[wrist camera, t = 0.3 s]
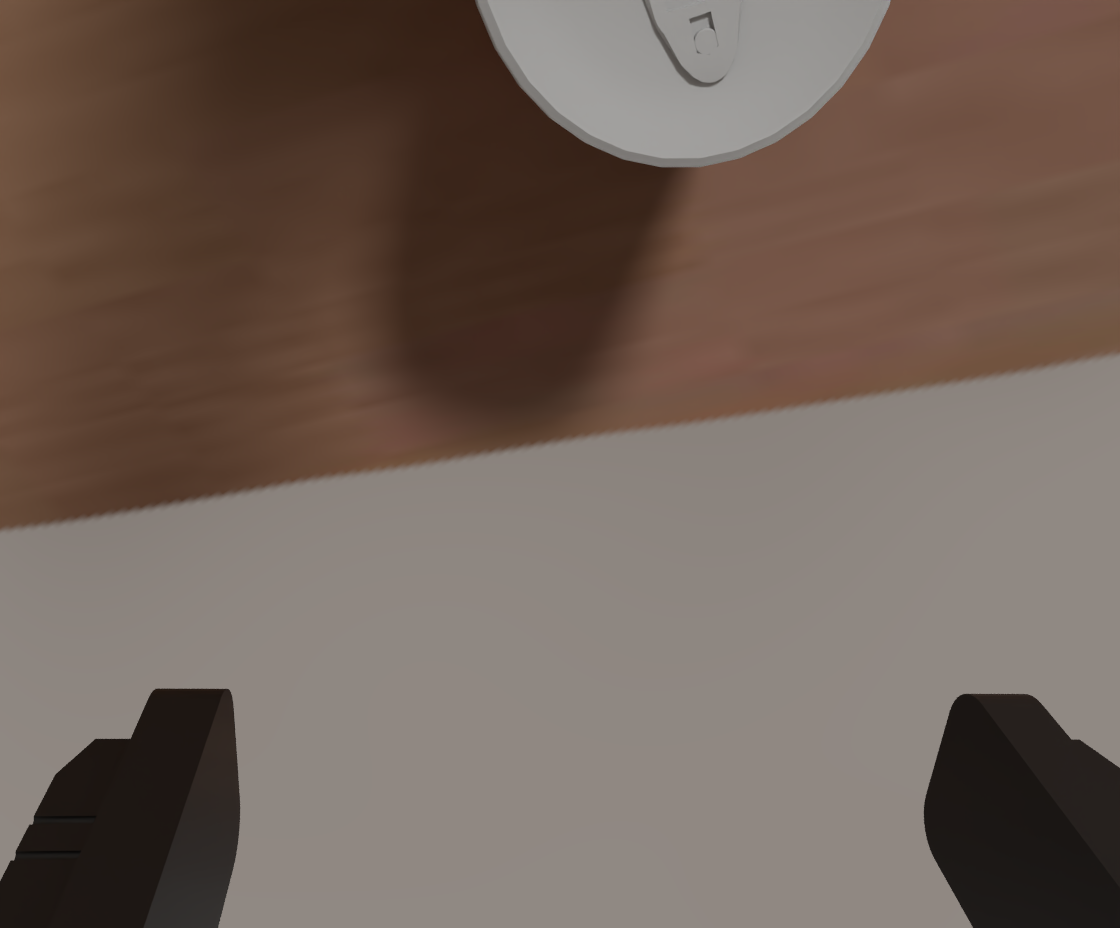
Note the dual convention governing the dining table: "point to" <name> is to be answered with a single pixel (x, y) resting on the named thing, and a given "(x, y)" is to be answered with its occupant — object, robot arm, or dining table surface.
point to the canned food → (681, 69)
